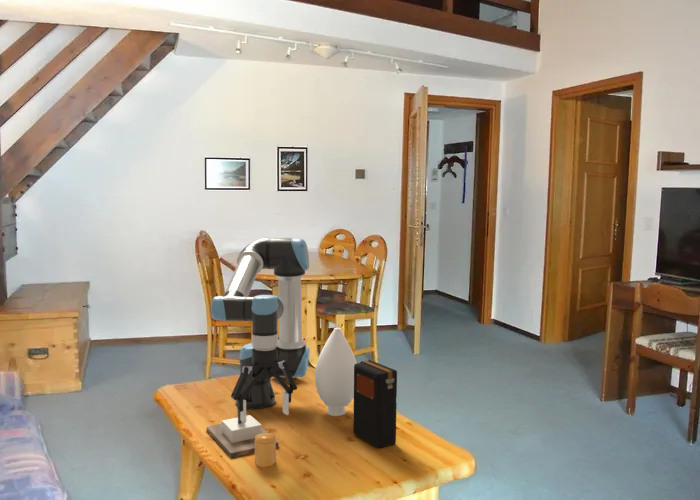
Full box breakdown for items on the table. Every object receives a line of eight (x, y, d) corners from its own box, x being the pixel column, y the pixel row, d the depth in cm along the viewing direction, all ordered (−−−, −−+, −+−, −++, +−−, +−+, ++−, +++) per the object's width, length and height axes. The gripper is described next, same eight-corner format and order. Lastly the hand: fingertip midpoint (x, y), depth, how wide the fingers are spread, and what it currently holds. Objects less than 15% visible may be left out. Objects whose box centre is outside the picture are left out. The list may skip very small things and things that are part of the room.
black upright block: (399, 444, 193) (400, 369, 191) (378, 450, 188) (379, 373, 186) (370, 428, 206) (371, 358, 204) (349, 434, 201) (350, 362, 199)
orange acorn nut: (270, 456, 183) (270, 431, 182) (277, 463, 178) (277, 438, 178) (252, 460, 180) (252, 435, 180) (259, 468, 175) (259, 442, 175)
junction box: (250, 426, 203) (250, 400, 202) (261, 436, 194) (261, 410, 194) (221, 432, 198) (221, 405, 197) (232, 442, 189) (231, 415, 189)
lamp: (309, 408, 225) (309, 317, 221) (347, 403, 231) (348, 314, 228) (324, 423, 210) (324, 326, 207) (364, 417, 216) (366, 322, 213)
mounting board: (250, 422, 211) (250, 418, 211) (278, 447, 190) (278, 442, 190) (206, 430, 202) (206, 426, 202) (230, 457, 182) (230, 453, 182)
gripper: (297, 340, 186) (297, 406, 187) (219, 349, 173) (220, 420, 174) (308, 345, 179) (307, 414, 181) (228, 355, 166) (229, 429, 168)
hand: (264, 417), depth 178 cm, fingers open, 13 cm apart
